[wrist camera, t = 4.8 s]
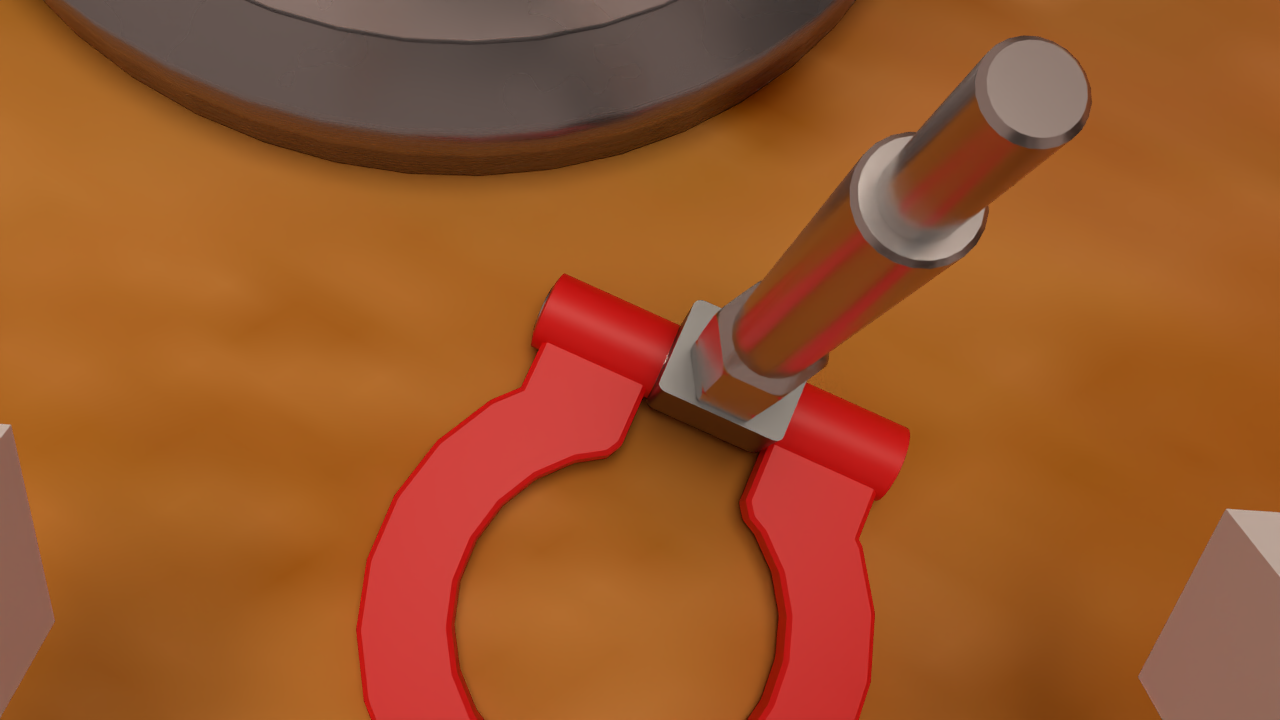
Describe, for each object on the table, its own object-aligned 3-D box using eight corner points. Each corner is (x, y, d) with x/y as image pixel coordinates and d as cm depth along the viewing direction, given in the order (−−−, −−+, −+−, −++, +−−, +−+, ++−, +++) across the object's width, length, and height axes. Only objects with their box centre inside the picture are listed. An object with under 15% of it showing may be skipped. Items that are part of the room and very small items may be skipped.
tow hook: (746, 963, 18) (939, 450, 20) (1265, 1977, 5) (1671, 253, 7) (279, 755, 18) (518, 260, 19) (-383, 1255, 5) (480, -291, 7)
